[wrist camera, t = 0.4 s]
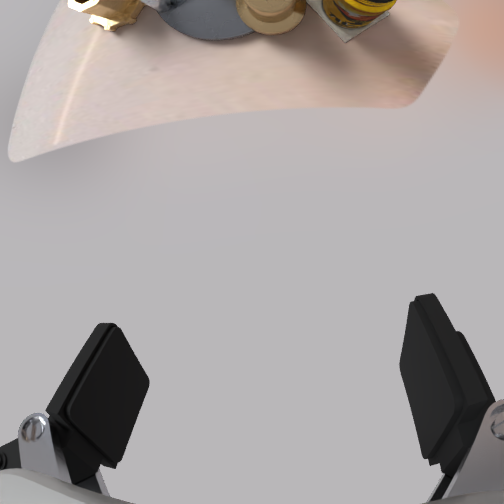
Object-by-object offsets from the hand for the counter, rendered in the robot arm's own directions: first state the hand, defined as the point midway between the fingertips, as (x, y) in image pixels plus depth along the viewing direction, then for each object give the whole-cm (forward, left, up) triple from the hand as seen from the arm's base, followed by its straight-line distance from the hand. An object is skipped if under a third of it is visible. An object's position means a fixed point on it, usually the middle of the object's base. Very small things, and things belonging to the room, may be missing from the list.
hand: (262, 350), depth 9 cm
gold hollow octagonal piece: (-6, -28, -30) cm, 41 cm away
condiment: (-20, -6, -30) cm, 36 cm away
